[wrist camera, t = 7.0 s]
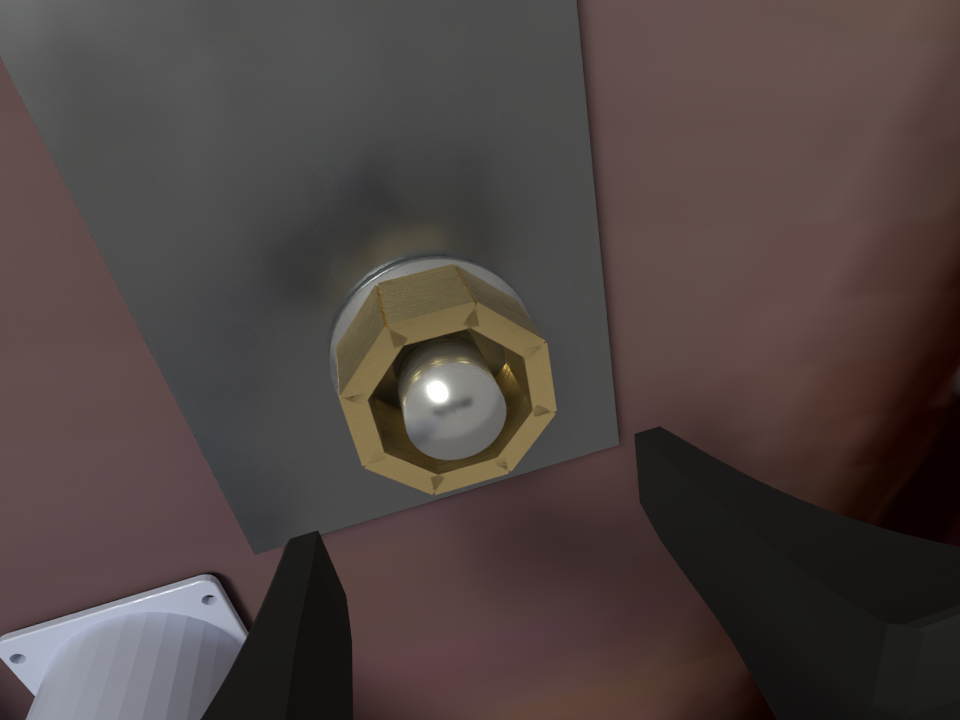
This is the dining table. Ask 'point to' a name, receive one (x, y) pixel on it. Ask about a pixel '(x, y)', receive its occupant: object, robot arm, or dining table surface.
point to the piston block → (328, 218)
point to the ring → (427, 314)
